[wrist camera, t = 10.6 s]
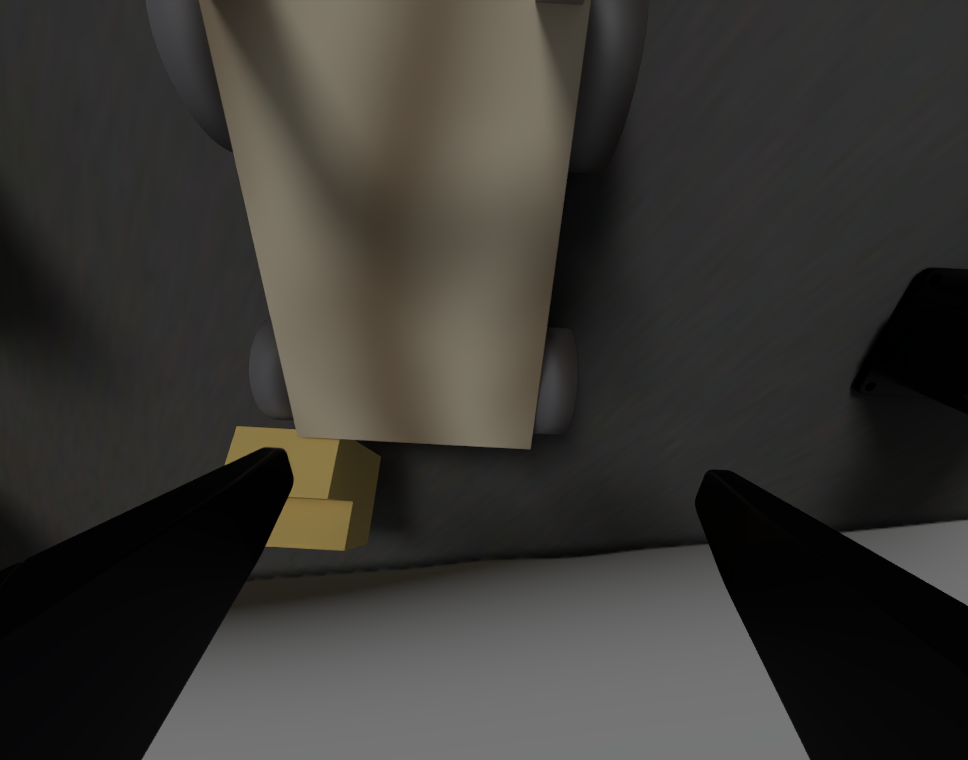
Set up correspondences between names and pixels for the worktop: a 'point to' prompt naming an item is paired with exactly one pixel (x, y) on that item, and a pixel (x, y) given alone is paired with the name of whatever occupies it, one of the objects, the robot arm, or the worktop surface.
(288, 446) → the block
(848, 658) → the robot arm
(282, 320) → the trolley
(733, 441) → the worktop surface
